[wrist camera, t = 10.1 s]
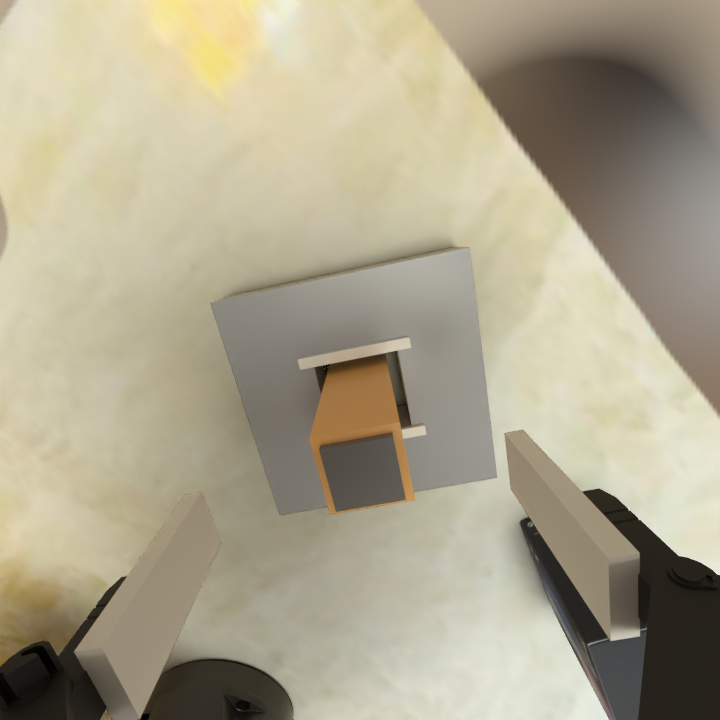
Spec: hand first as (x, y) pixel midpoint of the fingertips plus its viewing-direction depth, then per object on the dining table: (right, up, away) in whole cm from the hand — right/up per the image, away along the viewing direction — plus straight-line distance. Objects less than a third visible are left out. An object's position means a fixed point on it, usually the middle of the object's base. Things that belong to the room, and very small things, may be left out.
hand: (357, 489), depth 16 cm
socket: (0, +4, +12) cm, 13 cm away
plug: (0, +4, +12) cm, 13 cm away
